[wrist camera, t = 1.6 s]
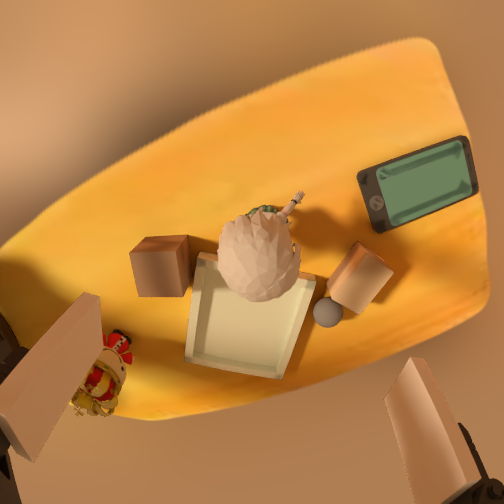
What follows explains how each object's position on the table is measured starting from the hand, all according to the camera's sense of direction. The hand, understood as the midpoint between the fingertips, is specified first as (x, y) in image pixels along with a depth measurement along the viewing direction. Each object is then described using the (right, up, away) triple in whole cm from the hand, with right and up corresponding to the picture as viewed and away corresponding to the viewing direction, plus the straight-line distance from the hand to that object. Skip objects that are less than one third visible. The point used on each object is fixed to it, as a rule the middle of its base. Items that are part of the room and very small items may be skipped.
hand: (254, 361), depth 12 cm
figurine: (+1, +8, +21) cm, 23 cm away
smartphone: (+19, +12, +19) cm, 30 cm away
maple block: (+12, +2, +23) cm, 26 cm away
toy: (-18, -8, +28) cm, 35 cm away
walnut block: (-9, +4, +23) cm, 26 cm away
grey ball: (+9, -2, +25) cm, 26 cm away
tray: (-1, -4, +26) cm, 26 cm away
